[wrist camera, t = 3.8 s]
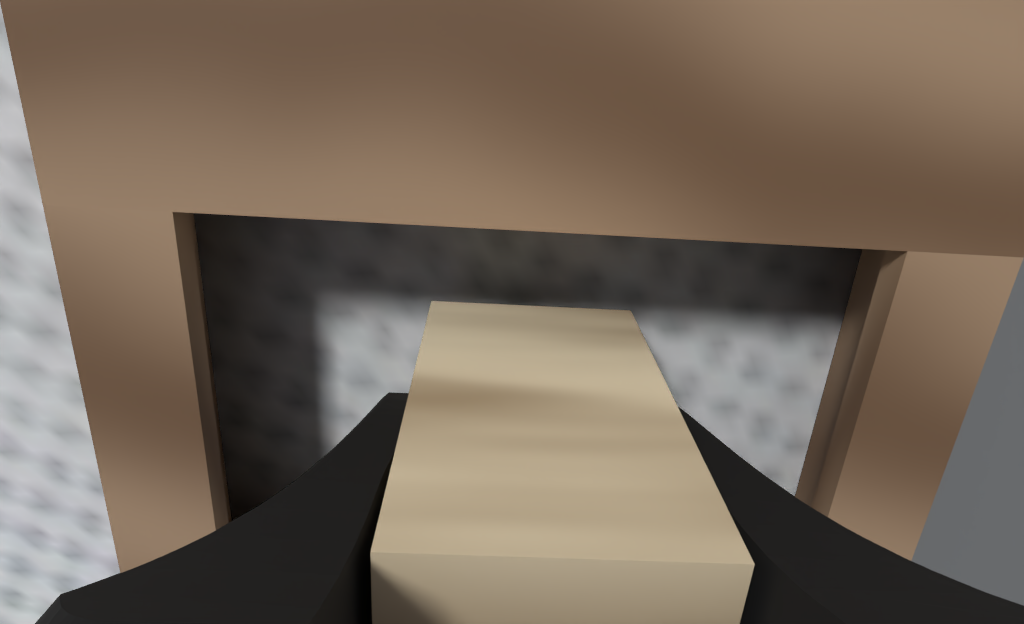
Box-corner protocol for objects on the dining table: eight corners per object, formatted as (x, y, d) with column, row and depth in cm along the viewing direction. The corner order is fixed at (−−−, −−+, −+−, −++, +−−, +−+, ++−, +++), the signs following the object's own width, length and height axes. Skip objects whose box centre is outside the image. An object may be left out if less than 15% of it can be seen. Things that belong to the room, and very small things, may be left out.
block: (607, 475, 15) (692, 808, 9) (428, 468, 15) (376, 803, 8) (630, 310, 14) (755, 564, 7) (430, 300, 13) (371, 551, 7)
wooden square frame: (792, 635, 19) (843, 741, 16) (206, 619, 18) (152, 726, 15) (982, 2, 12) (1121, -6, 10) (102, -59, 12) (-20, -87, 9)
